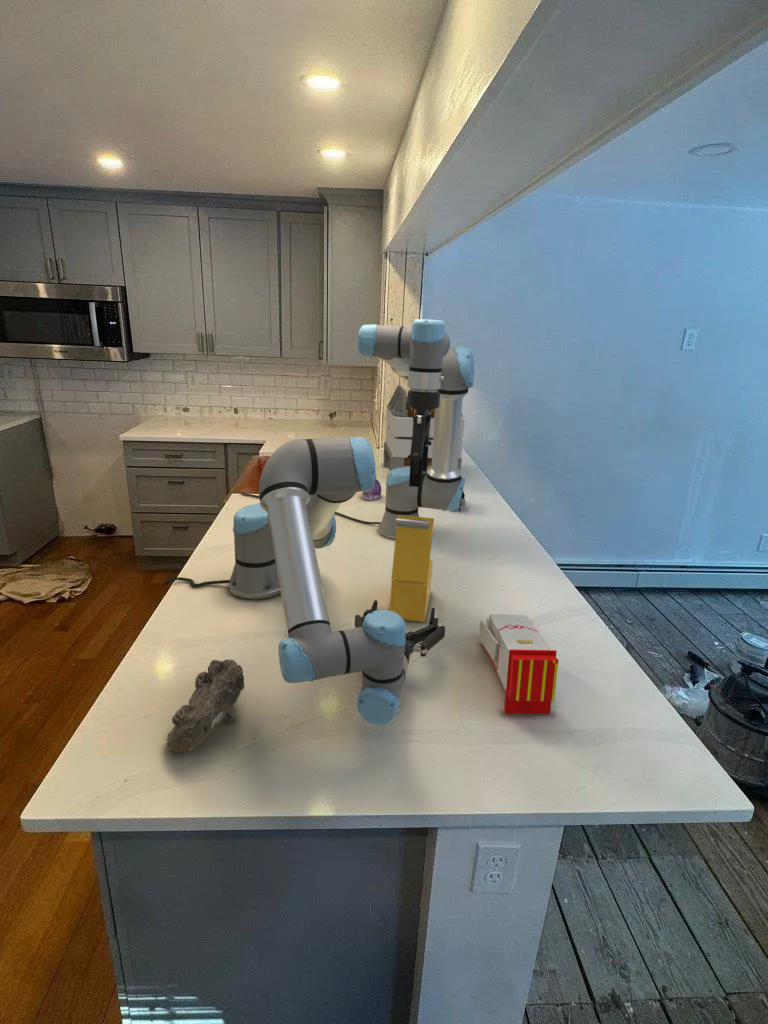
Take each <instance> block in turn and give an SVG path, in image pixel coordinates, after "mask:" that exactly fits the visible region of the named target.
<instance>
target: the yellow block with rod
mask: <svg viewBox="0 0 768 1024" xmlns="http://www.w3.org/2000/svg"><path fill="white" fill-rule="evenodd" d="M434 523H435V518H434V517H423V516H419V517H415V516H405V515H398V518H396V527H397V530H396V539H394V549H393V560H392V571H391V580H392V579H394V580H403V581H411V582H420V583H428V574H429V564H430V560H431V552H432V543H433V534H434V533H433V532H434Z"/></svg>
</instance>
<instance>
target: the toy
mask: <svg viewBox="0 0 768 1024" xmlns="http://www.w3.org/2000/svg"><path fill="white" fill-rule="evenodd" d="M477 635H478V637H477V638H478V639H479V641H480V643H481V645H482V647H483V649H484V651H485V652H486V654H487V655H488V658H489V659H490V661H491V663H492V665H493V667H494V669H495V671H496V672H497V675H498V677H499V679H500V682H501V684H502V685H503V688H504V690H505V699H504V709H503V712H504V714H522V715H523V714H528V715H535V714H536V715H540V714H541V715H551V710H552V702H555V700H556V699H555V698H556V688H557V679H558V672H559V671H558V669H559V661H560V660H559V659H558V658H557V649H551V648H550V646H549V645H548V643H547V642H546V640H545V639H544V638H543V636H542V635H541V634H540V632H539V630H538V629H536V626H535V624H533V622H532V619H530V618H529V617H528V615H527V614H501V613H500V614H495V613H493V614H492V613H489V614H488V616H486V617H485V622H484V620H483V619H480V620H479V628H478V634H477Z"/></svg>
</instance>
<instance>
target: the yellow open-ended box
mask: <svg viewBox="0 0 768 1024" xmlns="http://www.w3.org/2000/svg"><path fill="white" fill-rule="evenodd" d="M433 562H434V560H433V559H430V564H429V574H428V583H420V582H411V581H403V580H394V579H391V586H390V603H389V611H392V612H395V613H397V614H399V615H400V616H401V617H402V618H403V620H404V621H411V622H418V623H419V622H420V623H425V621H426V617H427V611H428V606H429V602H430V596H431V590H432V589H431V588H432V575H433V564H434V563H433Z"/></svg>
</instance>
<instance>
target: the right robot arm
mask: <svg viewBox="0 0 768 1024" xmlns="http://www.w3.org/2000/svg"><path fill="white" fill-rule="evenodd" d="M445 323H446V322H444V320H442V319H427V318H426V319H425V318H424V319H423V318H417V319H414V320H413V321H412V322H411V326H405V325H404V326H403V325H402V326H401V325H384V324H376V323H374V324H363V325H362V326H361V327H360V328H359V330H358V334H357V349H358V352H359V354H360V355H361V356H364V357H370V358H373V357H375V358H379V359H380V360H381V361H383V362H384V363H386V364H387V365H389V366H390V369H391V370H392V371H393V373H395V374H396V375H397V376H399V377H400V378H402V379H405V380H407V388H408V391H407V405H408V406H409V407H411V408H416V409H417V413H416V414H415V415H414V416H413V435H412V444H411V453H410V455H408V459H411V462H410V466H404V467H401V468H396V469H393V470H391V471H390V470H389V472H388V473H387V475H386V482H385V504H384V505H385V507H384V508H385V509H384V513H383V515H382V519H381V522H380V521H365V520H361V519H358V518H355V517H352V516H349V515H345V514H344V513H341V512H338V511H336V512H335V513H334V515H339V516H340V517H343V518H346V519H349V520H351V521H354V522H358V523H362V524H367V525H378V533H379V534H380V535H381V536H382V537H385V538H387V539H389V540H395V539H396V530H397V527H396V518H398V515H405V516H415V517H420V515H419V508H422V509H430V510H431V509H432V510H440V511H444V512H445V511H451V512H455V511H457V510H459V509H458V508H459V505H460V501H461V497H462V492H463V491H464V487H465V483H466V478H465V477H463V476H462V470H461V471H460V470H459V469H458V468H457V465H458V452H459V440H460V439H461V438H460V427H461V418H462V417H461V414H462V415H463V400H464V397H466V396H467V394H469V389H471V388H473V387H474V386H475V385H474V383H475V361H474V360H475V359H474V354H473V352H472V350H471V349H470V348H467V347H460V346H451V338H450V335H449V333H448V332H447V331H446V324H445ZM431 409H435V416H434V433H433V450H432V465H430V466H429V467H428V466H427V460H428V446H426V445H430V446H431V441H429V440H430V438H429V431H430V422H431V415H430V411H431ZM414 453H417V454H414ZM240 495H244V496H248V497H253V498H259V495H256V494H252V493H245V492H240ZM259 499H260V498H259Z"/></svg>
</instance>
